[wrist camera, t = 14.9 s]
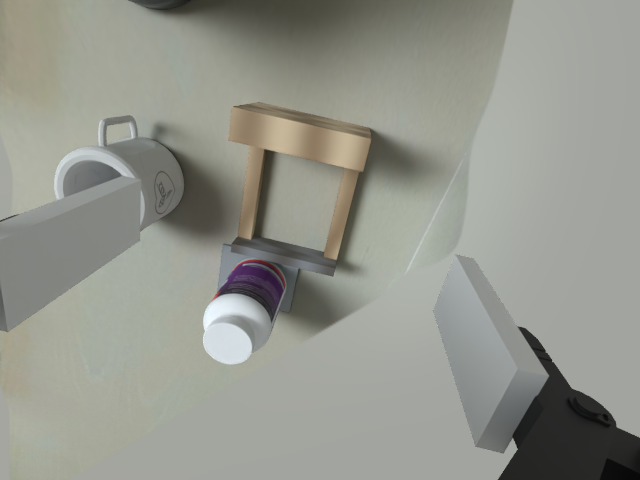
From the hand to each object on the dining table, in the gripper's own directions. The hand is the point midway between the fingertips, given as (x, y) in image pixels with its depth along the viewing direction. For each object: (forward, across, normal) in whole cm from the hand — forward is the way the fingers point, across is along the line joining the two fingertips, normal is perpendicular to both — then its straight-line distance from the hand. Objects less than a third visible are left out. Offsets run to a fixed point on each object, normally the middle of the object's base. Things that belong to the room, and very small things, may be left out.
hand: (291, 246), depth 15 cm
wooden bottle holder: (+33, -4, -8) cm, 34 cm away
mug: (+33, -24, -9) cm, 42 cm away
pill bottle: (+32, -6, -21) cm, 39 cm away
